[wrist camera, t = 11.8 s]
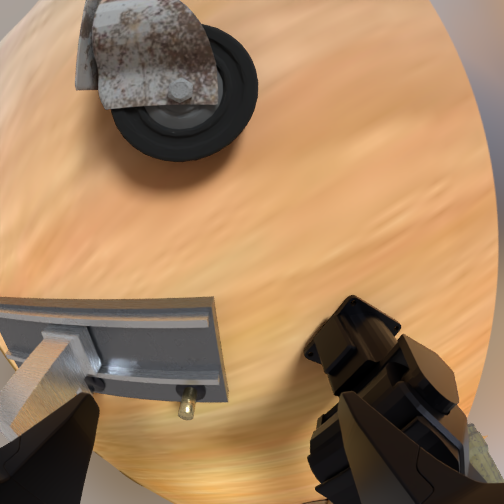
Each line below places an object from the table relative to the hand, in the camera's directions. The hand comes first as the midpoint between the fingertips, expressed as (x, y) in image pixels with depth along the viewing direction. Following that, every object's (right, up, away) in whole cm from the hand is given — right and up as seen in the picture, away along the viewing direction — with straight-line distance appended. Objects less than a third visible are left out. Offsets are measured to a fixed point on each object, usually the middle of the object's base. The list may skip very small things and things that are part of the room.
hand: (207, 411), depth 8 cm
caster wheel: (-3, +17, +7) cm, 19 cm away
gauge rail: (-14, -4, +14) cm, 20 cm away
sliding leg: (-14, -4, +12) cm, 19 cm away
